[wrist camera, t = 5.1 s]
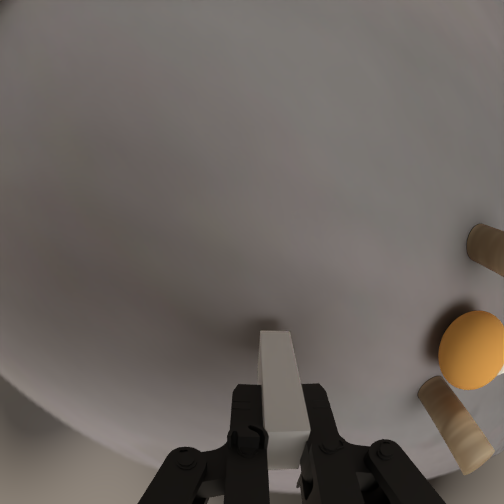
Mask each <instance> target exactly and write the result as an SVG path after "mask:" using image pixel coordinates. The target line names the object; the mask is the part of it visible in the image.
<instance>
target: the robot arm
mask: <svg viewBox="0 0 504 504" xmlns="http://www.w3.org/2000/svg"><path fill="white" fill-rule="evenodd" d="M257 373H258V385H246V384H238V385H237V387H236V388H235V389H234V391H233V396H232V409H231V421H230V430H229V432H228V435H227V442H226V444H224V445H223V446H222V447H220V448H218V449H216V450H212V451H206V452H200V451H199V450H197V449H195V448H192V447H179V448H177V449H174V450H172V451H171V452H170V453H169V454H168V456H167V457H166V459H165V461H164V462H163V464H162V465H161V467H160V469H159V470H158V472H157V474H156V475H155V477H154V479H153V480H152V482H151V483H150V485H149V486H148V488H147V490H146V492H145V493H144V494H143V496H142V498H141V499H140V501H139V502H138V504H207V502H208V500H209V498H210V497H214V496H220V495H224V504H270V502H269V501H270V500H269V480H268V470H277V469H298V468H299V465H301V474H300V477H299V479H298V482H297V486H296V488H299V487H300V488H301V496H302V504H446V503H445V502H444V501H443V499H442V498H441V497H440V496H439V494H438V493H437V492H436V491H435V489H434V488H433V487H432V486H431V484H430V483H429V482H428V481H427V480H426V478H425V477H424V476H423V475H422V473H421V472H420V471H419V470H418V468H417V467H416V466H415V465H414V463H413V462H412V461H411V460H410V458H409V457H408V456H407V455H406V453H405V452H404V451H403V450H402V448H401V447H400V446H399V445H398V444H397V443H396V442H394V441H391V440H385V439H382V440H378V441H376V442H374V443H373V444H372V445H371V446H360V445H354V444H350V443H348V442H346V441H345V439H343V438H342V437H341V436H340V435H339V433H338V430H337V427H336V423H335V420H334V417H333V413H332V410H331V408H330V403H329V401H328V397H327V393H326V391H325V390H324V388H323V387H322V386H321V385H320V384H319V383H318V384H301V381H300V376H299V371H298V367H297V362H296V357H295V353H294V348H293V344H292V339H291V335H290V331H260V343H259V357H258V371H257Z"/></svg>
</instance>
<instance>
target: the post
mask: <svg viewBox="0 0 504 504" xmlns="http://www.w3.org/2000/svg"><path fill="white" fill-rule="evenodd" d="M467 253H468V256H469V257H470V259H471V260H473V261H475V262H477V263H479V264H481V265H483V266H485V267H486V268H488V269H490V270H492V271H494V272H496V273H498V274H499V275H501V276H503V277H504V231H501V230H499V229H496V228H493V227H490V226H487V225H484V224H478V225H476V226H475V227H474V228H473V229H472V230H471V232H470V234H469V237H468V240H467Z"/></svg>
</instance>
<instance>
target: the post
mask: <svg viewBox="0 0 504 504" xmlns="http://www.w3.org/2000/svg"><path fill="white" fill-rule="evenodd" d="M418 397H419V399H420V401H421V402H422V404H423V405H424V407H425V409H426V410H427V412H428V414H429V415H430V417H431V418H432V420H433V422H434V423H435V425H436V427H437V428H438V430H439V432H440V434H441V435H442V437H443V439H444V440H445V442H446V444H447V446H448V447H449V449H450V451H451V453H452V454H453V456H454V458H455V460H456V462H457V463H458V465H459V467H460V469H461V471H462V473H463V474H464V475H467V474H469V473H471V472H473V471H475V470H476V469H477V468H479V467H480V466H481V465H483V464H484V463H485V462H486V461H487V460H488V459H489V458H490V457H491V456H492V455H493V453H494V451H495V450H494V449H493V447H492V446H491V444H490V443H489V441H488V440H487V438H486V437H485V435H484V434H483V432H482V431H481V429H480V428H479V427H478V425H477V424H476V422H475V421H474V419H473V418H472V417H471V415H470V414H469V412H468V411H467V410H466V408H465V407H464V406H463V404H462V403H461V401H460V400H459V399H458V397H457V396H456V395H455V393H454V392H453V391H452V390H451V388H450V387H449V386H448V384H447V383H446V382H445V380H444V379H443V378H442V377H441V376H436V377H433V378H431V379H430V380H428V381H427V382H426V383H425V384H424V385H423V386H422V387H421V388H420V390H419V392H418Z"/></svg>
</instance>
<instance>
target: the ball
mask: <svg viewBox="0 0 504 504" xmlns="http://www.w3.org/2000/svg"><path fill="white" fill-rule="evenodd" d="M438 358H439V365H440V369H441V372H442V374H443V376H444V377H445V378H446V380H447V381H448V382H449V383H450V384H451V385H453V386H455V387H457V388H459V389H464V390H473V389H478V388H480V387H483V386H484V385H486V384H488V383H489V382H490V381H492V380H493V379H494V378H495V377H496V376H497V374H498V373H499V372H500V370H501V369H502V367H503V365H504V326H503V324H502V323H501V322H500V320H499V319H498V318H497V317H495V316H494V315H492V314H491V313H488V312H485V311H471V312H467V313H465V314H463V315H461V316H459V317H458V318H457V319H455V320H454V321H453V322H452V323H451V324H450V326H449V327H448V328H447V330H446V331H445V333H444V335H443V337H442V339H441V342H440V346H439V353H438Z"/></svg>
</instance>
